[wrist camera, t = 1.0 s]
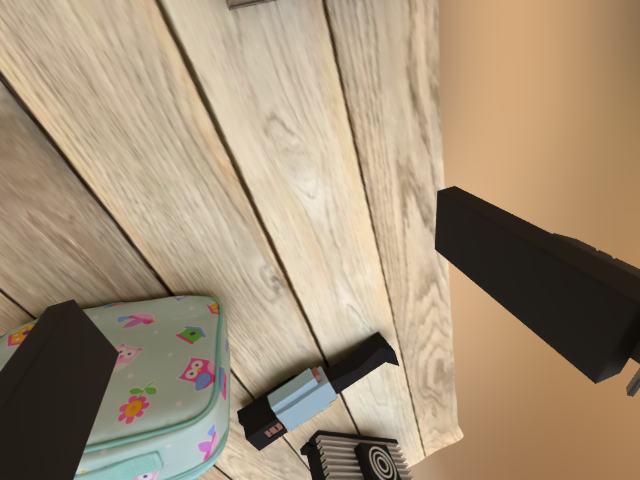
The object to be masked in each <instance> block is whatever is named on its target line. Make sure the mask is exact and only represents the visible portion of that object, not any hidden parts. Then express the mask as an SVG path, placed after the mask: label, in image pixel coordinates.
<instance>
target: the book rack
mask: <svg viewBox="0 0 640 480" xmlns="http://www.w3.org/2000/svg"><path fill="white" fill-rule="evenodd" d="M271 1H275V0H227V4H228V7H229V10H232V9H237V8H242V7H247V6H252V5H256V4H261V3H266V2H271Z"/></svg>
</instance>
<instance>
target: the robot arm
mask: <svg viewBox="0 0 640 480" xmlns="http://www.w3.org/2000/svg"><path fill="white" fill-rule="evenodd" d="M435 250H436V251H438V252H439V253H440V254H441V255H442V256H444V257H445V258H446V259H447V260H448V261H450V262H451V263H452V264H453V265H454V266H455V267H457V268H458V269H459V270H460V271H461V272H463V273H464V274H465V275H466V276H467V277H469V278H470V279H471V280H472V281H473V282H475V283H476V284H477V285H478V286H479V287H481V288H482V289H483V290H484V291H485V292H487V293H488V294H489V295H490V296H491V297H492V298H494V299H495V300H496V301H497V302H498V303H500V304H501V305H502V306H503V307H504V308H506V309H507V310H508V311H509V312H510V313H512V314H513V315H514V316H515V317H516V318H518V319H519V320H520V321H521V322H522V323H523V324H525V325H526V326H527V327H528V328H529V329H531V330H532V331H533V332H534V333H535V334H537V335H538V336H539V337H540V338H541V339H543V340H544V341H545V342H546V343H547V344H549V345H550V346H551V347H552V348H553V349H555V350H556V351H557V352H558V353H559V354H561V355H562V356H563V357H564V358H565V359H566V360H568V361H569V362H570V363H571V364H573V365H574V366H575V367H576V368H577V369H578V370H580V371H581V372H582V373H583V374H584V375H586V376H587V377H588V378H589V379H590V380H592V381H593V382H594V383H595V384H596V383H599V382H601V381H603V380H605V379H607V378H610V377H612V376H614V375H616V374H619V373H620V372H621V370H622V369H623V367H624V366H625V364H626V363H627V361H628V359H629V358H632V359H633V360H635V361H636V362H637V363H639V364H640V269H638V268H636V267H634V266H632V265H630V264H627V263H625V262H623V261H621V260H619V259H617V258H615V259H613V258H612V256H611V255H609V254H607V253H604V252H602V251H600V250H599V251H597V250H596V248H594V247H592V246H590V245H587V244H585V243H583V242H581V241H579V240H577V239H574V238H570V237H567V236H563V235H559V234H555V233H554V234H551V233H549V232H547V231H545V230H543V229H541V228H539V227H537V226H535V225H533V224H531V223H529V222H527V221H525V220H523V219H521V218H519V217H517V216H515V215H513V214H511V213H509V212H507V211H505V210H503V209H500V208H499V207H497V206H495V205H492V204H490V203H488V202H486V201H484V200H482V199H480V198H478V197H476V196H474V195H472V194H470V193H468V192H466V191H464V190H462V189H460V188H458V187H456V186H453V187H450V188H446V189H443V190H439V191H437V212H436V233H435ZM118 356H119V352H118V351H117V350H116V349H115V347H114V346H113V345H112V344H111V343H110V341H109V340H108V339H107V338H106V337H105V336H104V334H103V333H102V332H101V331H100V330H99V328H98V327H97V326H96V325H95V324H94V323H93V321H92V320H91V319H90V318H89V317H88V316H87V314H86V313H85V312H84V311H83V310H82V308H81V307H80V306H79V305H78V304H77V303H76V301H75V300H74V299H73V300H70V301H66V302H63V303H59V304H56V305H53V306H49V307H47V309H46V310H45V311H44V313H43V314H42V315H41V317H40V318H39V320H38V321H37V322H36V324H35V325H34V326H33V328H32V329H31V330H30V332H29V333H28V334H27V336H26V337H25V338H24V340H23V341H22V343H21V344H20V345H19V347H18V348H17V349H16V351H15V352H14V353H13V355H12V356H11V357H10V359H9V360H8V362H7V363H6V364H5V366H4V367H3V368H2V370H1V371H0V480H74V477H75V474H76V471H77V469H78V466H79V463H80V460H81V458H82V455H83V452H84V449H85V447H86V444H87V441H88V438H89V436H90V433H91V430H92V427H93V425H94V422H95V419H96V416H97V414H98V411H99V408H100V405H101V403H102V400H103V397H104V394H105V392H106V389H107V386H108V383H109V381H110V378H111V375H112V372H113V370H114V367H115V364H116V361H117V359H118ZM639 388H640V368H639V370H638V371H637V373H636V374H635V375H634V377H633V378H632V380H631V381H630V383H629V384H628V386H627V388H626V389H627V395H629V396H632V397H633V396H634V395H635V393H636V392H637V391H638V389H639Z"/></svg>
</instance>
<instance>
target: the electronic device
mask: <svg viewBox="0 0 640 480" xmlns="http://www.w3.org/2000/svg"><path fill="white" fill-rule="evenodd" d="M397 445H398V442H397V440H394V439H386V438H378V437H369V436H361V435H353V434H344V433H336V432H328V431H319V430H318V431H317V432H316V433H315V434H314V435H313V436H312V437H311V438H310V440H309V443H308V442H307V443H306V444H305V445H304V446H303V447H302V448H301V449H300V451H301V455H307V458H308V462H309V467H310V471H311V476H312V480H411V479H412V478H413V477H414V475H408V473H409V472H410V471H411V469H405V468H406V467H407V466H408V464H407V463H403V462H404V461H405V460H406V459H405V458H401V456H402V455H403V453H400V452H398V451H399V450H401V448H399V447H396V446H397Z"/></svg>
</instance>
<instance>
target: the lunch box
mask: <svg viewBox="0 0 640 480" xmlns="http://www.w3.org/2000/svg"><path fill="white" fill-rule="evenodd" d="M83 311H84V312H85V313H86V314H87V316H88V317H89V318H90V319H91V320H92V321H93V323H94V324H95V325H96V326H97V327H98V328H99V330H100V331H101V332H102V333H103V334H104V336H105V337H106V338H107V339H108V340H109V341H110V343H111V344H112V345H113V346H114V347H115V349H116V350H117V351H118V352H119V356H118V359H117V361H116V364H115V367H114V370H113V372H112V375H111V378H110V381H109V383H108V386H107V389H106V392H105V394H104V397H103V400H102V403H101V405H100V408H99V411H98V414H97V416H96V419H95V422H94V425H93V427H92V430H91V433H90V436H89V438H88V441H87V444H86V447H85V449H84V452H83V455H82V458H81V460H80V463H79V466H78V469H77V471H76V474H75V477H74V480H195V479H197V478H198V477H200V476H201V475H203V474H204V473H205V472H206V471H207V470H209V469H210V468H211V467H212V466H213V465H214V464H215V462H216V461H217V460H218V458H219V457H220V455H221V453H222V451H223V449H224V447H225V444H226V441H227V437H228V432H229V419H230V351H229V341H228V331H227V323H226V318H225V313H224V308H223V306H222V304H221V303H220V302H219V301H218V300H216V299H215V298H211V297H207V296H189V295H186V296H174V297H166V298H159V299H153V300H146V301H139V302H126V303H124V302H117V303H111V304H108V305H104V306H100V307H95V308H89V309H83ZM38 320H39V318H38V319H35V320H33V321H30V322H28V323H26V324H23V325H21V326H19V327H16V328H14V329H13V330H11V331H9V332H8V333H6V334H4V335H2V336H1V337H0V371H1V370H2V368H3V367H4V366H5V364H6V363H7V362H8V360H9V359H10V357H11V356H12V355H13V353H14V352H15V351H16V349H17V348H18V347H19V345H20V344H21V343H22V341H23V340H24V338H25V337H26V336H27V334H28V333H29V332H30V330H31V329H32V328H33V326H34V325H35V324H36V322H37V321H38Z"/></svg>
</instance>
